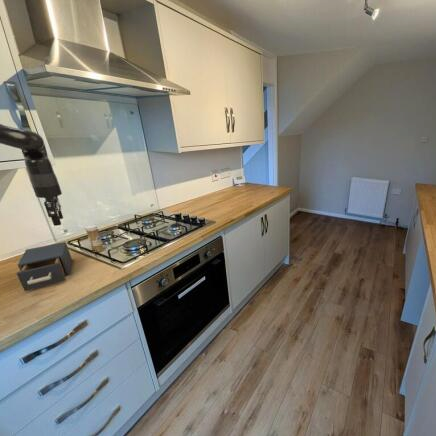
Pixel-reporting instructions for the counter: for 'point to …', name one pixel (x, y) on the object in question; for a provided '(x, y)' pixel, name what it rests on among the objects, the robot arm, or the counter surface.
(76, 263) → the counter surface
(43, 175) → the robot arm
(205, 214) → the counter surface
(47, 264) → the drawer
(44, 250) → the cabinet
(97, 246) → the sprinkles bottle
